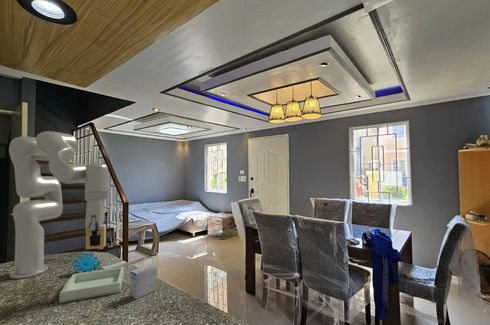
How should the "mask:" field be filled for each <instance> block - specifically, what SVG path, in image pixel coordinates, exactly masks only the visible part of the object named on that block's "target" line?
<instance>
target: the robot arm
mask: <svg viewBox="0 0 490 325" xmlns="http://www.w3.org/2000/svg"><path fill="white" fill-rule="evenodd" d="M77 146H78V141H77V139H76V137H75V136H74V135H72V134H70V133H64V132H58V131H51V130H47V131H42V132H40V133H38V134H37V135H36V137H33V136H18V137H15V138H13V139H12V140H11V141H10V142H9V148H8V153H9V156H10V160H11V162H12V164H13V168H14V179H15V190H16V194H17V196H18V197H20V198H24V199H25V198H26V199H27V198H28V199H31V198H43V197H44V198H43V199H35V200H33V199H32V200H25V201H22V202H19V203H17V204H16V205H15V206H14V207H13V210H12V216H13V221H14V227H15V243H14V244H15V246H14V270H13V271H11V272H10V273H9V278H10V279H15V280H17V279H24V278H25V279H26V278H29V277H34V276H37V275H38V276H39V275H40V274H43V273H45V272H46V271H48V269H49V266H48V265H46V264H44V263H45V262H44V260H45V257H44V256H45V229H44V228H43V226H42V225H41V224H40V223H39V222H41V221H48V220H53V219H56V218H58V217H60V216H61V215H62V214H63V209H64V207H63V205H64V204H63V195H62V185H61V183H63V184H67V185H68V184H69V185H70V184H84V201H86V207H85V208H86V211H85V225H84V227H85V229H86V228H88V227H89V226H91V229H90V246H99V245H100V234H99V229H100V226H101V225H104V223H105V218H106V217H105V216H106V212H105V211H106V210H105V209H106V208H105V207H106V203H105V202H106V200H108V199H109V167H108V165H107V164H105V163H90V164H89V163H87V164H86V163H70V162H71V161H72V160H73V159H74V158H75V155H76V151H75V150H76V149H77ZM33 157H41V158H42V157H43V158H44V157H46V158H49V160H48V170H49V172H50V173H51V175H52V176H51V175H49V176H48V175H46V176H42V175H41V167H40V164H39V163H38V162H37V161H36V160H35V159H34V158H33ZM96 225H98V226H96ZM96 228H97V229H96Z"/></svg>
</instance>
